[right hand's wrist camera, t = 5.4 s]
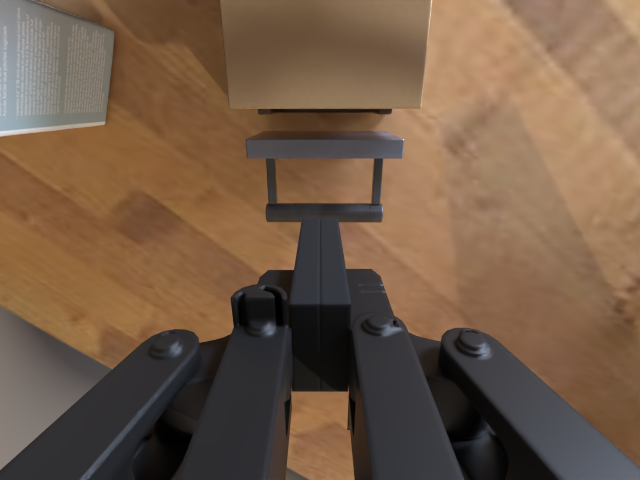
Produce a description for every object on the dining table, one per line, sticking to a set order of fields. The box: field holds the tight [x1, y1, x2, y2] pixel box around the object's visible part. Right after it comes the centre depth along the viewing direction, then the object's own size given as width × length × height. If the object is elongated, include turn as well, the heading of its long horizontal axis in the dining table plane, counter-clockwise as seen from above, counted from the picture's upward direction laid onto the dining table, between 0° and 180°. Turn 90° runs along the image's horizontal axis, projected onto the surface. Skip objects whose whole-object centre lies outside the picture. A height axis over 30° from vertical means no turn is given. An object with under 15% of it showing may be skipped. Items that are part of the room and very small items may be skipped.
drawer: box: [246, 109, 404, 222], centre depth 23 cm, size 22×10×7 cm, turn 0°
